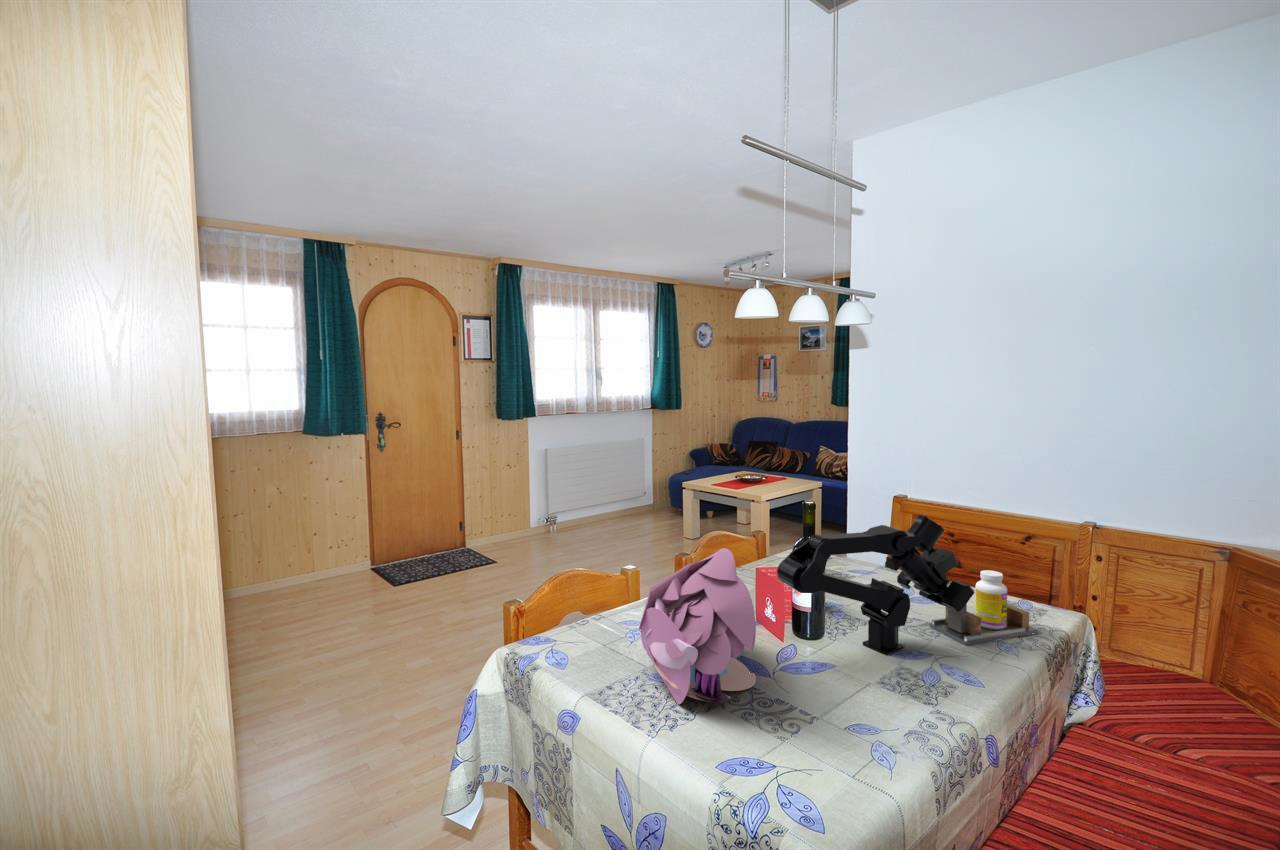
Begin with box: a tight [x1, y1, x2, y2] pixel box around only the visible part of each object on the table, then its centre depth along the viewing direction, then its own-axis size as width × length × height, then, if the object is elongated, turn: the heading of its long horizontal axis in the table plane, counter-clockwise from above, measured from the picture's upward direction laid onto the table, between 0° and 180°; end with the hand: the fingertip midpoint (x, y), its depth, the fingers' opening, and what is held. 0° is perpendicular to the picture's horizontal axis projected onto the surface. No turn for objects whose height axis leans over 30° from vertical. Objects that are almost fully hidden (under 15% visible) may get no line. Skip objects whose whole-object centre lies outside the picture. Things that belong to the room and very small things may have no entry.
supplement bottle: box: [974, 569, 1008, 630], centre depth 142 cm, size 7×7×13 cm
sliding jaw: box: [945, 603, 981, 635], centre depth 140 cm, size 4×9×11 cm, turn 16°
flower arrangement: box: [638, 547, 757, 705], centre depth 121 cm, size 35×24×28 cm
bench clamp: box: [929, 603, 1038, 646], centre depth 142 cm, size 21×11×5 cm, turn 106°
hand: (953, 607), depth 139 cm, fingers closed, pressing on sliding jaw
